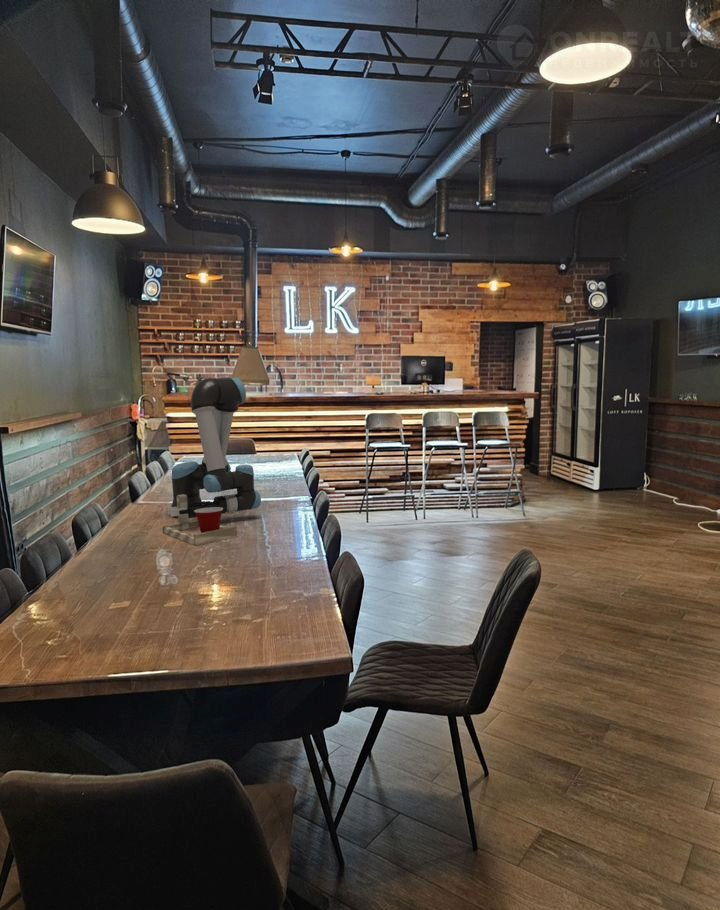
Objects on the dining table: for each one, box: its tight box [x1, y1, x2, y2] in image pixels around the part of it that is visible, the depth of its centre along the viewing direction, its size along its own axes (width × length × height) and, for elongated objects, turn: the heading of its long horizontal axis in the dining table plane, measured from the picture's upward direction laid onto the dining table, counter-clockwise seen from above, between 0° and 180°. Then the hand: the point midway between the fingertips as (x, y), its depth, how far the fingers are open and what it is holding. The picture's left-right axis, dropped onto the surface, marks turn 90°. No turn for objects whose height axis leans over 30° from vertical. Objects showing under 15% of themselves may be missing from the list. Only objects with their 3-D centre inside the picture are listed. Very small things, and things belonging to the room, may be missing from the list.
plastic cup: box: [194, 507, 223, 533], centre depth 222 cm, size 11×11×12 cm
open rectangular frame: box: [162, 494, 238, 547], centre depth 228 cm, size 28×17×14 cm, turn 44°
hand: (169, 512), depth 234 cm, fingers closed on open rectangular frame, 3 cm apart
